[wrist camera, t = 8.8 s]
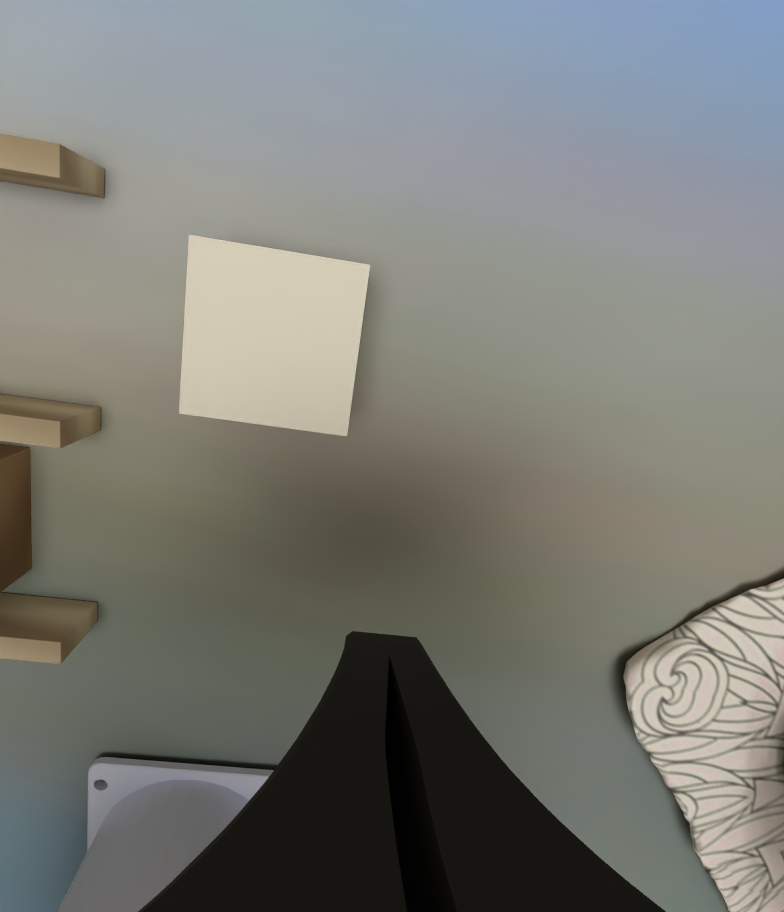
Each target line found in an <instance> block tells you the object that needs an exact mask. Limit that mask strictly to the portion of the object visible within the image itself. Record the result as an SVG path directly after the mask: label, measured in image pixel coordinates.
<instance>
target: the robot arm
mask: <svg viewBox="0 0 784 912" xmlns="http://www.w3.org/2000/svg"><path fill="white" fill-rule="evenodd" d="M101 780H104V781H105V782H103V781H101ZM57 912H665V911H664V910H663V909H662V908H660V907H659V906H658V905H657V904H655V903H654V902H653V901H652V900H650V899H649V898H648V897H647V896H645V895H644V894H643V893H641V892H640V891H639V890H638V889H636V888H635V887H634V886H633V885H631V884H630V883H629V882H628V881H626V880H625V879H624V878H623V877H622V876H621V875H619V874H618V873H617V872H616V871H615V870H613V869H612V868H611V867H610V866H609V865H608V864H606V863H605V862H604V861H603V860H602V859H600V858H599V857H598V856H597V855H596V854H595V853H594V852H593V851H592V850H590V849H589V848H588V847H587V846H586V845H585V844H584V843H583V842H582V841H581V840H580V839H578V838H577V837H576V836H575V835H574V834H573V833H572V832H571V831H570V830H569V829H568V828H566V827H565V826H564V825H563V824H562V823H561V822H560V821H559V820H558V819H557V818H556V817H555V816H554V815H553V814H552V813H551V812H550V811H549V810H548V809H547V808H546V807H545V806H544V805H543V804H542V803H541V802H540V801H539V800H538V799H537V798H536V797H535V796H534V795H533V794H532V793H531V792H530V790H529V789H528V788H527V787H526V786H525V785H524V784H523V783H522V782H521V781H520V780H519V779H518V778H517V777H516V776H515V774H514V773H513V772H512V771H511V770H510V769H509V768H508V767H507V765H506V764H505V763H504V762H503V761H502V760H501V758H500V757H499V756H498V755H497V754H496V752H495V751H494V750H493V748H492V747H491V746H490V745H489V743H488V742H487V741H486V740H485V738H484V737H483V736H482V735H481V733H480V732H479V731H478V729H477V728H476V727H475V725H474V724H473V723H472V721H471V720H470V718H469V717H468V716H467V714H466V713H465V711H464V710H463V708H462V707H461V706H460V704H459V703H458V701H457V700H456V698H455V697H454V696H453V694H452V693H451V691H450V690H449V688H448V687H447V685H446V683H445V682H444V680H443V679H442V677H441V676H440V674H439V672H438V671H437V669H436V668H435V666H434V664H433V663H432V661H431V659H430V658H429V656H428V654H427V653H426V651H425V649H424V648H423V646H422V644H421V643H420V641H419V640H418V639H417V638H416V637H406V636H396V635H386V634H375V633H365V632H355V631H353V632H351V633H350V634H348V635H347V636H346V640H345V647H344V650H343V653H342V656H341V659H340V662H339V664H338V666H337V669H336V671H335V673H334V675H333V677H332V679H331V681H330V683H329V685H328V687H327V689H326V691H325V693H324V695H323V697H322V699H321V701H320V702H319V704H318V706H317V708H316V709H315V711H314V712H313V714H312V716H311V717H310V719H309V720H308V722H307V724H306V725H305V727H304V728H303V730H302V732H301V733H300V735H299V736H298V738H297V739H296V741H295V742H294V744H293V745H292V746H291V748H290V749H289V751H288V752H287V754H286V755H285V756H284V758H283V759H282V760H281V762H280V763H279V764H278V766H277V767H276V768H275V770H264V769H251V768H239V767H226V766H213V765H200V764H188V763H175V762H162V761H150V760H137V759H124V758H112V757H100V758H98V759H96V760H95V761H94V762H93V763H92V765H91V766H90V768H89V771H88V820H87V854H86V856H85V858H84V859H83V861H82V863H81V865H80V867H79V869H78V871H77V873H76V875H75V877H74V879H73V881H72V883H71V885H70V887H69V889H68V891H67V893H66V895H65V897H64V898H63V900H62V902H61V904H60V906H59V908H58V910H57Z"/></svg>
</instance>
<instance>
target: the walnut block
mask: <svg viewBox="0 0 784 912" xmlns="http://www.w3.org/2000/svg"><path fill="white" fill-rule="evenodd" d="M31 568H32V543H31V474H30V447H22V446H15V445H7V444H0V592H1V591H3V590H4V589H5V588H6V587H8V586H9V585H10V584H12V583H13V582H14V581H16V580H17V579H18V578H20V577H21V576H22V575H23V574H25V573H26V572H27V571H29V570H30V569H31Z"/></svg>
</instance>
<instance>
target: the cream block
mask: <svg viewBox="0 0 784 912" xmlns="http://www.w3.org/2000/svg"><path fill="white" fill-rule="evenodd" d="M369 270H370V265H368V264H362V263H356V262H350V261H344V260H338V259H332V258H326V257H320V256H314V255H308V254H302V253H296V252H290V251H284V250H278V249H272V248H266V247H260V246H254V245H248V244H242V243H236V242H230V241H224V240H217V239H211V238H205V237H199V236H193V235H189V246H188V264H187V282H186V299H185V317H184V335H183V352H182V370H181V388H180V405H179V413H180V414H187V415H194V416H202V417H209V418H216V419H224V420H231V421H238V422H245V423H253V424H260V425H267V426H275V427H282V428H289V429H297V430H304V431H311V432H318V433H326V434H333V435H340V436H347V433H348V425H349V418H350V410H351V403H352V396H353V388H354V381H355V373H356V366H357V359H358V351H359V344H360V336H361V329H362V322H363V314H364V307H365V299H366V292H367V285H368V277H369Z"/></svg>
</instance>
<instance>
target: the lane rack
mask: <svg viewBox="0 0 784 912" xmlns="http://www.w3.org/2000/svg"><path fill="white" fill-rule="evenodd" d="M104 177H105V169H103V168H101V167H100V166H98V165H96V164H94V163H92V162H91V161H89V160H87V159H85V158H84V157H82V156H80V155H78V154H76V153H75V152H73V151H71V150H69V149H67V148H66V147H64V146H62V145H60V144H56V143H51V142H45V141H39V140H33V139H27V138H22V137H16V136H10V135H4V134H0V181H5V182H11V183H17V184H23V185H29V186H35V187H41V188H47V189H53V190H60V191H66V192H72V193H78V194H84V195H90V196H96V197H102V198H104ZM100 420H101V407H95V406H88V405H80V404H73V403H65V402H58V401H50V400H43V399H35V398H28V397H20V396H13V395H5V394H0V441H7V442H15V443H23V444H30V445H38V446H46V447H54V448H62V447H64V446H66V445H69V444H71V443H73V442H75V441H78V440H80V439H82V438H84V437H87V436H89V435H91V434H94V433H96V432H98V431H100ZM96 622H97V602H89V601H79V600H69V599H59V598H50V597H40V596H30V595H21V594H11V593H1V592H0V658H2V659H13V660H24V661H35V662H46V663H56V664H61V663H62V662H63V661H64V659H65V658H66V657H67V656H68V655H69V654H70V653H71V651H72V650H73V649H74V648H75V647H76V646H77V644H78V643H79V642H80V641H81V640H82V639H83V638H84V636H85V635H86V634H87V633H88V632H89V631H90V629H91V628H92V627H93V626H94V625H95V624H96Z"/></svg>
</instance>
